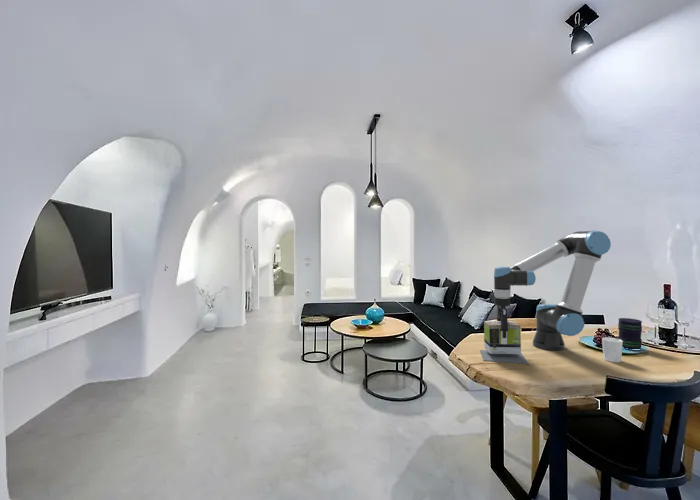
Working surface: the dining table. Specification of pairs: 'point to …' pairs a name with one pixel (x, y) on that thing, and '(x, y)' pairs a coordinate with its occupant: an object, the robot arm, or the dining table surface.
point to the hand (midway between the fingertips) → (502, 340)
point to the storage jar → (630, 333)
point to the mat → (503, 357)
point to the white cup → (612, 349)
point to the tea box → (494, 338)
